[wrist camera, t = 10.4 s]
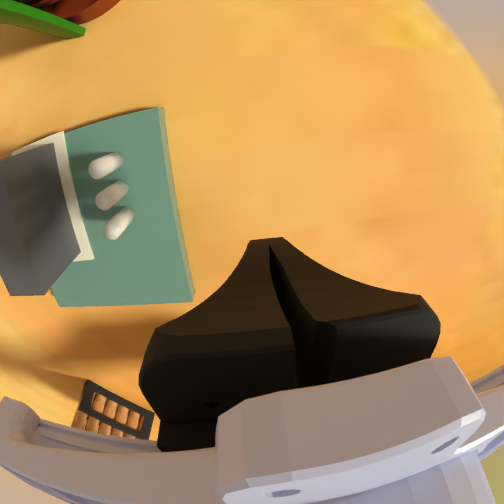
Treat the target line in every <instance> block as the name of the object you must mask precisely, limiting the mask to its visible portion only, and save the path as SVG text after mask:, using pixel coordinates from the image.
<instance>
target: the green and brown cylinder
mask: <svg viewBox="0 0 504 504" xmlns="http://www.w3.org/2000/svg"><path fill="white" fill-rule="evenodd" d="M119 1H120V0H0V23H4V24H9V25H14V26H18V27H23V28H27V29H31V30H35V31H39V32H42V33H46V34H50V35H53V36H56V37H60V38H76V37H81V36H84V33H85V28H83V27H81V26H79V25H77V24H82V23H85V22H88V21H91V20H93V19H95V18H97V17H99V16H101V15H102V14H104V13H106V12H107V11H108V10H110V9H111V8H112V7H114V6H115V5H116V4H117V3H118V2H119Z"/></svg>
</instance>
